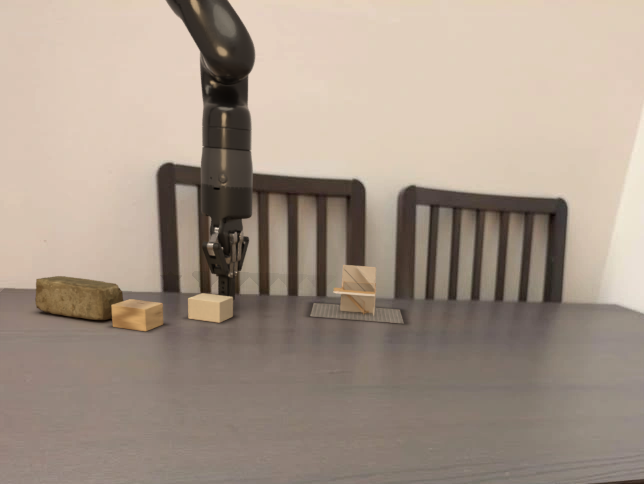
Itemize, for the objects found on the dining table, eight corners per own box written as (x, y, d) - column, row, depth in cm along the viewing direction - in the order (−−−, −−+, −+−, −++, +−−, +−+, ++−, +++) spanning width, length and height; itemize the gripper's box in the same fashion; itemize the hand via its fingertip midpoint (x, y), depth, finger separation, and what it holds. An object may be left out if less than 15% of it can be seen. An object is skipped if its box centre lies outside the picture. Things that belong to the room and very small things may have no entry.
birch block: (112, 326, 100) (111, 304, 98) (131, 320, 104) (130, 298, 103) (146, 331, 99) (145, 309, 97) (163, 324, 103) (162, 303, 102)
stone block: (104, 324, 100) (101, 287, 98) (32, 313, 103) (28, 277, 101) (127, 316, 106) (125, 281, 104) (58, 307, 108) (55, 272, 106)
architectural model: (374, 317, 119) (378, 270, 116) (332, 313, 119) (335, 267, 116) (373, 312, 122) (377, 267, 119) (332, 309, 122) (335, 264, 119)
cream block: (188, 318, 108) (187, 298, 106) (202, 312, 112) (202, 292, 111) (219, 322, 107) (219, 302, 106) (233, 316, 111) (233, 296, 110)
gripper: (221, 179, 114) (221, 292, 121) (183, 181, 102) (185, 305, 109) (266, 184, 112) (263, 297, 120) (233, 185, 101) (232, 311, 108)
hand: (226, 301), depth 114 cm, fingers closed
